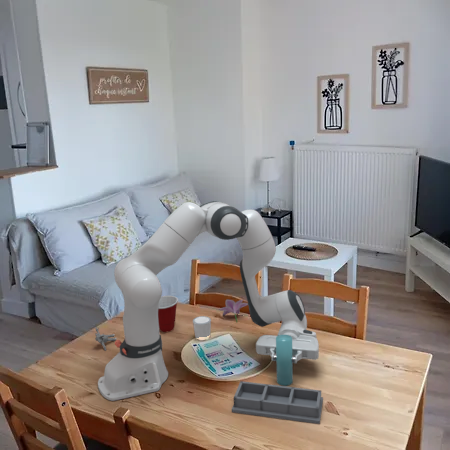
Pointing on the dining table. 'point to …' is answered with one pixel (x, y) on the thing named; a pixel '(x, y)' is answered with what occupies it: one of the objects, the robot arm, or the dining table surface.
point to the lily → (233, 307)
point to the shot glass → (202, 326)
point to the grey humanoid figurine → (104, 338)
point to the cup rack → (278, 402)
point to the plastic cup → (167, 313)
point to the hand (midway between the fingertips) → (283, 360)
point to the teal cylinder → (284, 360)
